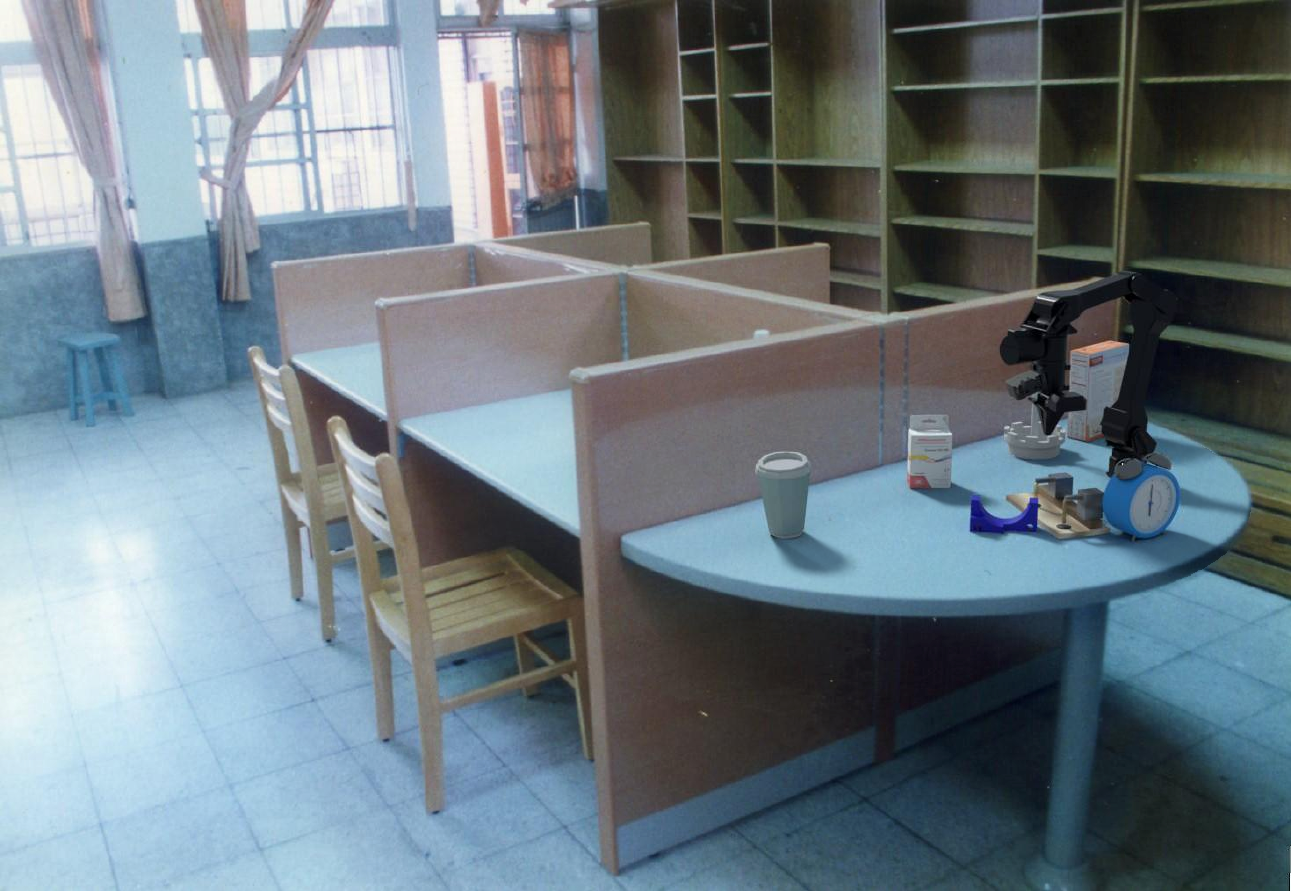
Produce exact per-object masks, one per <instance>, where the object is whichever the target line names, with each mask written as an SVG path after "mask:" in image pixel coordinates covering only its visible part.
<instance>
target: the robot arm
mask: <svg viewBox="0 0 1291 891" xmlns="http://www.w3.org/2000/svg"><path fill="white" fill-rule="evenodd" d="M1120 298H1122V299H1123V300H1124V301H1126V302H1127V303H1128V304H1129V305H1130V306H1129V318H1130V322H1131V324H1132V328H1133V332H1132V337H1131V342H1130V344H1129V354H1128V358H1127V362H1126V366H1125V371H1124V375H1123V379H1122V384H1121V388H1120V392H1119V396H1118V399H1117V401H1116V402H1115V403H1114V404H1113V405H1112V406H1111V407H1108V406H1106V407H1105V408H1104V412H1103V418H1102V421H1101V423H1100V425H1102V429H1101V432H1102V434H1103V436H1104V437H1103V438H1104V440H1105V444H1106V446H1107V447H1110V448H1111V455H1110V456H1108V457H1109V458H1108V459H1109V460H1108V471H1106V473H1105V474H1106V475H1107V476H1108V477H1109V478H1111V477H1112V476H1113V475H1114V473H1115V472H1114V470H1115V466H1116V465H1117V463H1118V462H1119V461H1121V460H1123V459H1126V458H1134V459H1137V460H1139V461H1141V462H1145V463H1148V462H1147V461H1142V459H1144V457H1145V456H1146V455H1147V454H1149V453H1155V450H1156V447H1157V441H1156V440H1155V438H1153V437H1152V436H1151V435H1150V434H1149V432H1148V431H1147V430H1148V422H1149V418H1148V416H1147V414H1148V413H1147V411H1146V408H1145V400H1146V395H1147V390H1148V387H1149V383H1150V377H1151V375H1152V374H1151V373H1152V370H1153V366H1154V361H1155V359H1156V358H1155V357H1156V352H1157V348H1158V346H1159V341H1160V337H1161V335H1162V333H1164V331H1165V330H1166V329H1167V328H1168V327H1169V326H1170V324H1172V321H1173V319H1174V316H1175V313H1176V310H1177V308H1178V297H1176V293H1174V292H1173V291H1172V290H1169V289H1164V288H1163V287H1161V286H1160V285H1158V284H1156V283H1154V282H1153V281H1150V280H1148V279H1147V278H1146V277H1144V276H1143V274H1141V273H1139V272H1134V271H1127V270H1121V271H1118V272H1116V273H1115V274H1113V275H1110V276H1107V277H1105V278H1101V279H1099V280H1096V281H1093V282H1091V283H1088V284H1085V285H1083V286H1079V287H1076V288H1074V289H1067V290H1065V289H1063V290H1062V289H1061V290H1051V291H1043V292H1041V293H1039V294H1037V296H1035V300H1034V301H1033V304H1032V306H1031V307H1030V308H1029V311H1028V312H1027V313H1026V316H1025V317H1024V318H1023V320H1022V321H1021V324H1020V326H1019V327H1020V328H1010V329H1007V335H1006V336H1005V337H1004V338H1002V340H1001V342H1000V344H999V354H1000V358H1001V360H1002V361H1003V363H1004V364H1006V365H1007V366H1017V365H1021V364H1028V363H1030V364H1029V370H1027V371H1025V372H1021V373H1019V374H1017V375H1014V376H1012V377H1009V378H1008V379H1006V380H1005V381H1004V382H1005V386H1006V389H1007V392H1008V395H1009V397H1010V398H1011V397H1012V398H1013V399H1015V400H1016V401H1022V400H1024V399H1026V398H1027V401H1029V402H1030V403H1031V405H1032V404H1034V405H1035V406H1036V407H1037V410H1038V413H1039V421H1041V424H1042V428H1043V432H1044V434H1045V435H1046V436H1050V435H1051V434H1052V433H1053V431H1054V429H1055V427H1056V426H1057V425H1059V422H1060V421H1061V419H1062V417H1063V416H1064V414H1065V413H1068V412H1073V411H1083V410H1086V409H1087V399H1086V398H1085V397H1084V396H1082V395H1080V394H1078V393H1076V392H1069V390H1070V385H1069V383H1066V382H1067V381H1066V380H1067V371H1070V370H1071V365H1070V363H1068V361H1067V360H1068V359H1067V358H1068V346H1069V344H1068V342H1069V335H1074V334H1077V333H1078V329H1077V328H1075V326H1073V325H1072V324H1071V323H1073V322H1075V321H1076V320H1078V319H1079V318H1081V316H1082V314H1083V313H1084V312H1086V311H1087V310H1089V309H1092V308H1095V307H1098V306H1101V305H1103V304H1106V303H1109V302H1111V301H1114V300H1117V299H1120ZM1037 321H1041V322H1045V324H1043V323H1039V322H1037ZM1065 391H1066V392H1065ZM1030 396H1031V397H1030Z"/></svg>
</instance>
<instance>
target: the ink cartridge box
mask: <svg viewBox="0 0 1291 891" xmlns="http://www.w3.org/2000/svg"><path fill="white" fill-rule="evenodd" d="M928 420H931V421H936V422H923V421H928ZM949 421H950V416H949V415H948V414H920V415H919V414H918V415H917V414H916V415H915V414H911V415H910V417H909V429H907V430H908V436H907V437H908V438H907V439H908V440H907V468H906V469H907V472H906V473H907V474H906V481H907V484H908V487H909V488H910V489H951V486H952V485H951V484H952V462H953V459H952V458H953V433H952V431H951V429H950V428H949V426H950V425H949V424H950V423H949Z"/></svg>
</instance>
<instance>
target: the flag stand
mask: <svg viewBox="0 0 1291 891" xmlns="http://www.w3.org/2000/svg"><path fill="white" fill-rule="evenodd" d="M1037 322H1039V323H1043V324H1046V323H1045V322H1041V321H1037ZM1030 421H1031V422H1030V424H1031V425H1024V423H1023V422H1022V421H1016V422H1011V423H1010V424H1011V426H1009V425H1005V426H1004V430H1003V439H1004V441H1005V442H1006V443H1007V444H1008V445H1007V446H1008V448H1007V452H1008V451H1009V452H1008V454H1009V453H1010V454H1009V455H1011V456H1013V455H1014V456H1013V457H1015V456H1016V457H1015V458H1019V459H1025V460H1034V461H1035V460H1038V461H1039V460H1047V459H1048V460H1049V459H1053V457H1054V458H1056V456H1057V455H1058V456H1059V455H1060V451H1061V450H1060V449H1061V446H1062V445H1063V444H1064V443H1065V442H1066V435H1067V433H1066V432H1067V431H1066V429H1062V428H1063V426H1061V425H1060V424H1057V426H1056V427H1055V429H1054V431H1053V433H1052V434H1051V435H1050V436H1046V435H1045V434H1044V432H1043V428H1042V424H1041V420H1040V417H1039V413H1038V410H1037V407H1036V406H1035V405H1034V404H1032V403H1031V420H1030ZM1058 456H1057V457H1058Z"/></svg>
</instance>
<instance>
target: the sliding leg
mask: <svg viewBox="0 0 1291 891" xmlns="http://www.w3.org/2000/svg"><path fill="white" fill-rule="evenodd" d="M1047 475H1048V476H1045V477H1036V478H1035V480H1034V486H1033V492H1034V498H1038V486H1039V484H1047V485H1048V494H1049V495H1051V496H1052V497H1053V498H1064V496H1067V495H1074V492H1073V491H1074V476H1072V475H1071V474H1069V473H1068V472H1066V471H1065V472H1055V473H1049V474H1047Z"/></svg>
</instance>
